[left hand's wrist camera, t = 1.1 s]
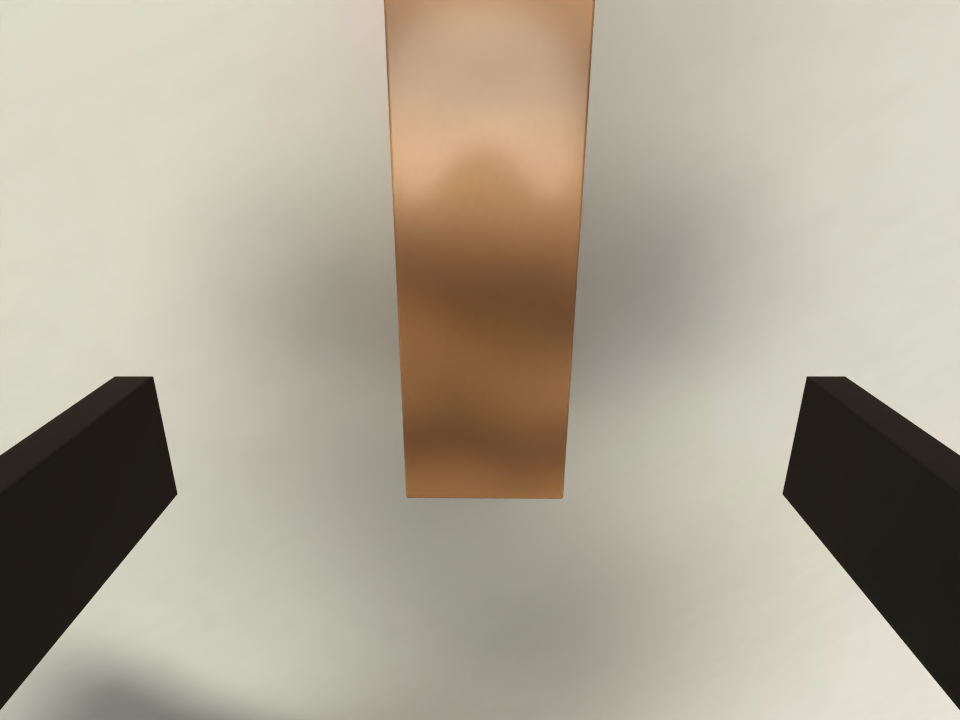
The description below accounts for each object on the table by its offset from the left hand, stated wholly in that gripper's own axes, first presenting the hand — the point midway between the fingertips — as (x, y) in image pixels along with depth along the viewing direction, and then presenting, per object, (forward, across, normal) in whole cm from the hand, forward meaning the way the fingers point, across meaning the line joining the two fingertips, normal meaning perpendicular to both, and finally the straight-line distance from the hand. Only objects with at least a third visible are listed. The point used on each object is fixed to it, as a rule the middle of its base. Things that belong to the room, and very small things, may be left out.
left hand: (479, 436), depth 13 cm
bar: (+14, 0, -31) cm, 34 cm away
